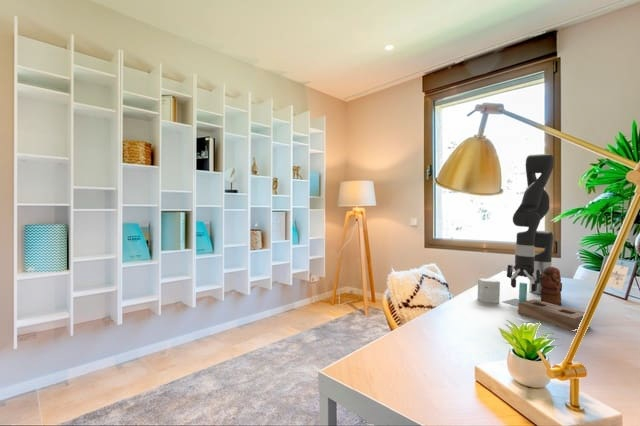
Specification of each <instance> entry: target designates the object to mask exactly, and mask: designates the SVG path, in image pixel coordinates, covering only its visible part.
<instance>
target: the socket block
mask: <svg viewBox="0 0 640 426" xmlns="http://www.w3.org/2000/svg"><path fill="white" fill-rule="evenodd" d="M584 313H585V311H581V310H578V309H574V308H569V307H566V306H563V305H562V306H561V305H560V306H558V305H554V304H550V303H546V302H543V301H541V300H539V299H534V298H533V299H529V300H527V301H524V302H520V303H518V307H517V315H521V316H525V317H527V318H529V319H530V318H531V319H534V320H537V321H540V322H544V323H547V324H549V325H550V324H551V325H553V326H554V327H556V328H560V329H563V330H567V329H568V330H567V331H570V330H575V329H578V327H579V324H580V322H581V320H582V318H583V315H584ZM575 332H578V331H577V330H576V331H575Z"/></svg>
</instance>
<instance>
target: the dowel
mask: <svg viewBox="0 0 640 426" xmlns="http://www.w3.org/2000/svg"><path fill="white" fill-rule="evenodd" d="M518 286H519V289H518V291H519V293H518V299H519V303H520V302H524V301H528V300H527V298H528V283H526V282H522V281H521V282H519V285H518Z"/></svg>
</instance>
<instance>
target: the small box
mask: <svg viewBox="0 0 640 426" xmlns="http://www.w3.org/2000/svg"><path fill="white" fill-rule="evenodd" d="M500 285H501V281H499V280H498V279H495V278H478V279H477V299H478V300H479V301H480V302H482V303H493V304H495V303H498V304H500V292H501V290H500V289H501V286H500Z"/></svg>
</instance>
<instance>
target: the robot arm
mask: <svg viewBox="0 0 640 426" xmlns="http://www.w3.org/2000/svg"><path fill="white" fill-rule="evenodd" d="M554 165H555V158H554V156H553V155H552V154H551V153H550V154H549V153H543V154H542V153H539V154H528V155H527V157H526V158H525V173H526V175H525V176H526V182H527V188H526V189H525V190H524V193H523V196H522V198H521V199H522V200H521V203H520V205H519V206H518V207H517V208H516V210H515V212H514V214H513V216H512V222H513V224H514V226H515V227H527V228H528V229H527V230H525V231H519V232H517V233H516V243H515V244H516V245H515V251H514V253H515V254H514V265H513V264H508V265H507V270H506V277H507V278H509V279H510V286H511V288H517V278H518V277H524V278H527V279H528V280H529V290H528V292H530V293H534V294H538V295H541V289H542V286H541V284H540V283H542V274H544V273H543V271H544V270H545V268H547V267H552V255H553V254H552V253H553V245H554V233H553V232H552V231H549V230H538V228H539V225H540V223H541V220H542V219H543V218H544V217H545V216H546V215H547V214H548V212H549V211H550V195H549V193H548V192H547V191H546V190H545V187H546V185H547V183H548V182H549V179H550V177H551V174H552V171H553V169H554ZM537 174H540V175H539V177H537ZM536 248H538V249H544V250H543V251H540V252H538V253H536V250H535V249H536ZM514 270H515V271H514ZM513 271H514V272H513Z"/></svg>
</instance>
